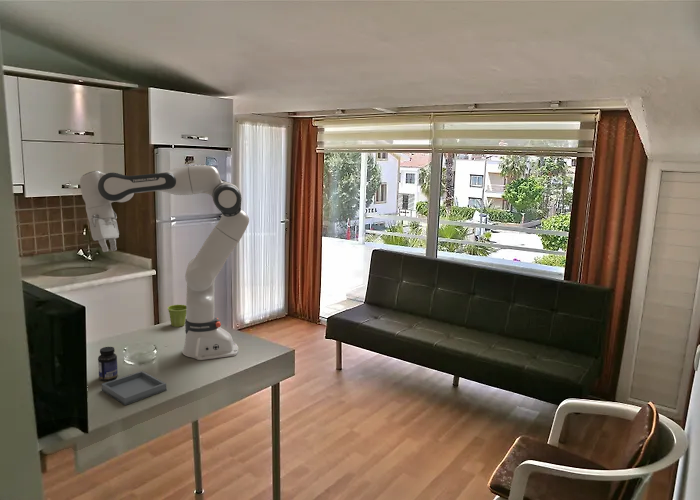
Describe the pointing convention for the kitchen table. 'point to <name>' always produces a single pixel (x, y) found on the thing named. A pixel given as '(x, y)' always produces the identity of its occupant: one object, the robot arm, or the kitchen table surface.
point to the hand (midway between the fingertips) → (110, 251)
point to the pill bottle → (107, 364)
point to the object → (177, 315)
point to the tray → (133, 387)
